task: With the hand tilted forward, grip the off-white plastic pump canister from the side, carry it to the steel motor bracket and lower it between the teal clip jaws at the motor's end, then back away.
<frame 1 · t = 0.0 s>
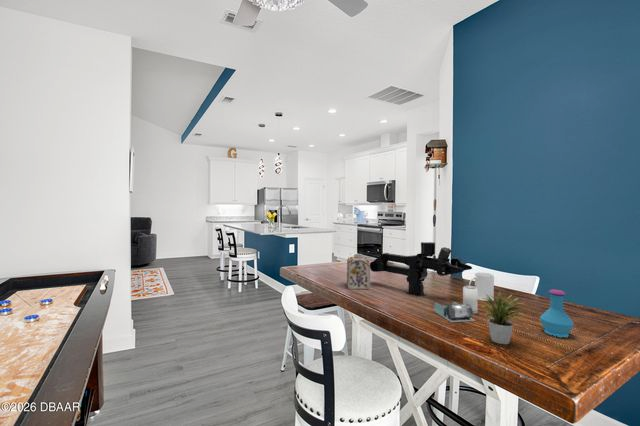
hand: (467, 269, 133), 17 cm above the table, tool horizontal, fingers open, 9 cm apart
decorative jar: (357, 287, 164), on the table
pump: (469, 311, 126), on the table
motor: (449, 313, 123), on the table
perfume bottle: (556, 334, 104), on the table
house plant: (499, 342, 97), on the table
mug: (480, 299, 144), on the table
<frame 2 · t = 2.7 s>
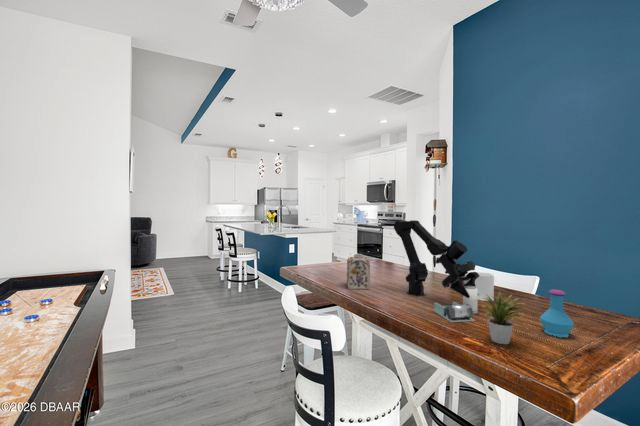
hand: (473, 296, 124), 7 cm above the table, tool tilted 45°, fingers closed on pump, 5 cm apart
pump: (470, 311, 126), on the table, touching gripper
everything else where it was.
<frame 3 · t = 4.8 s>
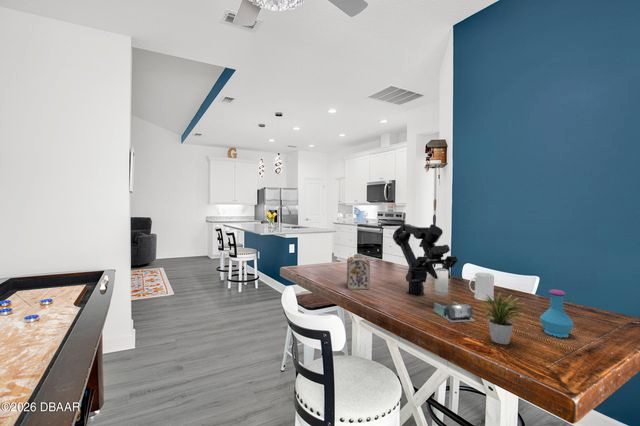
hand: (443, 278, 127), 13 cm above the table, tool tilted 45°, fingers closed on pump, 5 cm apart
pump: (440, 292, 129), point 7 cm above the table, touching gripper
everything else where it was.
when the fingers open (8 cm above the table, at t = 6.9 s): pump drops 1 cm, resting on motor.
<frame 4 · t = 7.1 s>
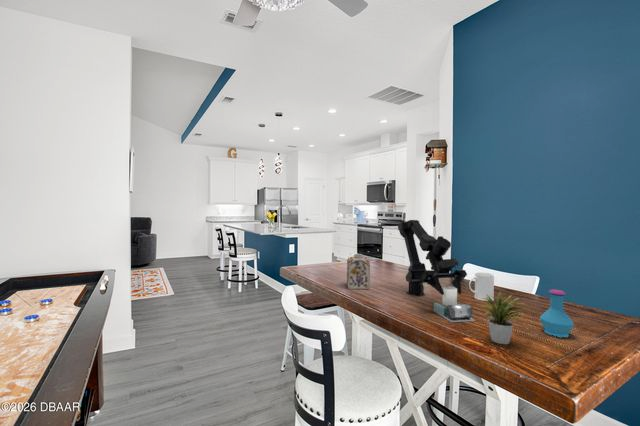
hand: (451, 294, 121), 9 cm above the table, tool tilted 45°, fingers open, 7 cm apart
pump: (449, 312, 123), point 1 cm above the table, touching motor
everything else where it was.
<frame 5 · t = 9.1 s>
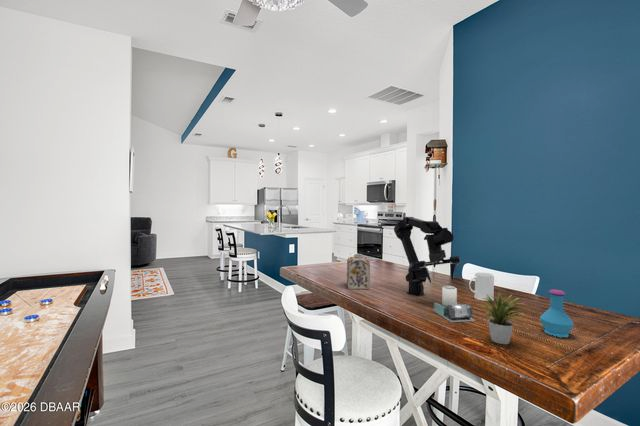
hand: (441, 281, 132), 11 cm above the table, tool tilted 20°, fingers open, 9 cm apart
nothing on the table moved.
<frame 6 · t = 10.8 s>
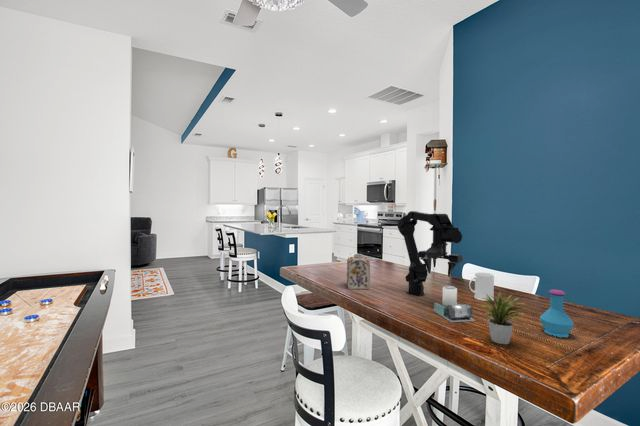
hand: (438, 275, 136), 13 cm above the table, tool pointing down, fingers open, 9 cm apart
nothing on the table moved.
at the end: pump 0.1 cm off-centre on the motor, point 0.6 cm above the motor's base; pump tilted 0°; the gripper is holding nothing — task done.
